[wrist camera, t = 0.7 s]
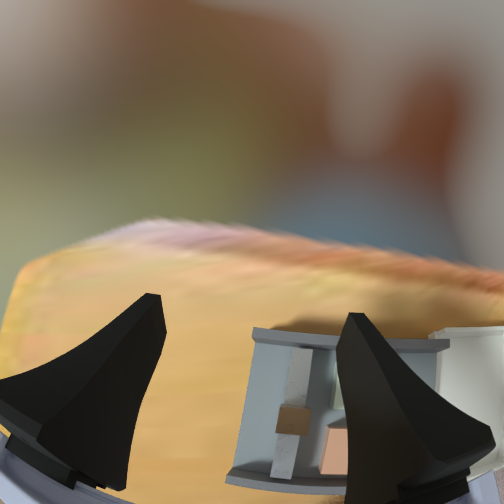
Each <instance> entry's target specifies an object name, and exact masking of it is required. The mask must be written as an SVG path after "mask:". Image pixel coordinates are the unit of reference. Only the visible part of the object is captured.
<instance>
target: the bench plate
mask: <svg viewBox="0 0 504 504" xmlns="http://www.w3.org/2000/svg"><path fill="white" fill-rule="evenodd" d="M252 338H253V340H254V341H255V347H254V353H253V359H252V364H251V370H250V376H249V382H248V387H247V393H246V399H245V404H244V410H243V415H242V421H241V426H240V431H239V437H238V442H237V447H236V453H235V458H234V463H233V468H232V469H231V470H230V471H229V473H228V474H227V475H226V481H225V483H226V484H231V485H236V486H241V487H247V488H253V489H259V490H266V491H274V492H283V493H294V494H310V495H346V486H347V474H321V473H320V471H319V469H318V466H319V462H320V457H321V452H322V447H323V442H324V436H325V431H326V425H327V426H347V422H346V415H345V410H343V409H332V408H329V406H330V399H331V392H332V385H333V377H334V368H335V362H336V346H337V343H338V341H339V338H340V336H335V335H322V334H311V333H300V332H291V331H281V330H273V329H265V328H257V327H253V332H252ZM385 340H386V341H387V342H388V343H389V345H390V346H391V347H392V348H393V349H394V350H395V352H396V353H397V354H398V355H399V356H400V357H401V358H402V360H403V361H404V362H405V363H406V364H407V365H408V366H409V367H410V368H411V369H412V370H413V371H414V372H415V373H416V374H417V375H418V376H419V377H420V378H421V379H422V380H423V381H424V382H425V383H426V384H427V385H428V386H430V387H431V388H432V389H433V390H434V391H435V384H436V366H437V353H438V352H440V351H443V350H446V349H448V348H450V339H394V338H385ZM292 348H302V349H313V352H312V360H311V368H310V375H309V383H308V389H307V396H306V403H305V406H308V407H309V408H310V409H312V412H311V418H310V424H309V430H308V435H307V436H300V437H299V443H298V448H297V453H296V458H295V463H294V467H293V472H292V477H291V479H282V478H274V477H270V474H271V469H272V464H273V459H274V454H275V449H276V444H277V439H278V434H279V433H275V431H276V425H277V420H278V414H279V408H280V405H281V404H284V399H285V393H286V387H287V380H288V374H289V367H290V360H291V353H292Z"/></svg>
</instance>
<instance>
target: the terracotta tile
mask: <svg viewBox="0 0 504 504" xmlns="http://www.w3.org/2000/svg"><path fill="white" fill-rule="evenodd" d="M318 469H319V471H320V473H321V474H347V470H348V436H347V426H327V425H326V431H325V436H324V442H323V447H322V452H321V457H320V462H319V466H318Z"/></svg>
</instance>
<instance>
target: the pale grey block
mask: <svg viewBox="0 0 504 504" xmlns="http://www.w3.org/2000/svg"><path fill="white" fill-rule="evenodd" d="M312 352H313V349H302V348H292V353H291V360H290V367H289V374H288V380H287V387H286V393H285V399H284V404H281V405H280V408H279V414H278V420H277V425H276V431H275V433H279V434H278V439H277V444H276V449H275V454H274V459H273V464H272V469H271V474H270V477H274V478H282V479H291V477H292V472H293V467H294V463H295V458H296V453H297V448H298V443H299V437H300V436H307V435H308V430H309V424H310V418H311V412H312V409H310V408H309V407H308V406H305V403H306V396H307V389H308V383H309V375H310V368H311V360H312Z"/></svg>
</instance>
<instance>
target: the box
mask: <svg viewBox="0 0 504 504" xmlns="http://www.w3.org/2000/svg"><path fill="white" fill-rule="evenodd" d="M428 339H450V348H448V349H446V350H443V351H440V352H438V353H437V366H436V384H435V392H437V393H438V394H439V395H440V396H442V397H443V398H444V399H446V400H447V401H448V402H450V403H451V404H452V405H454V406H455V407H457V408H458V409H460V410H461V411H463V412H465V413H466V414H468V415H469V416H471V417H473V418H475V419H477V420H479V421H481V422H483V423H485V424H487V425H488V426H490V428H491V431H492V433H493V436H494V439H495V443H496V447H495V448H494V450H492V451H491V452H490V453H489V454H488V455H486V456H485V457H484V458H482V459H481V460H479V461H478V462H476V463H475V464H473V465H472V466H470V467H469V468H470V472H471V474H470V475H469V476H467V481H470V480H472V479H474V478H476V477H478V476H480V475H482V474H484V473H486V472H488V471H489V470H491V469H493V470H494V472H495V471H497V470H500V469H502V468H504V326H493V327H445V328H443V329H441V330H439V331H434V332H432V333H430V334H428Z"/></svg>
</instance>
